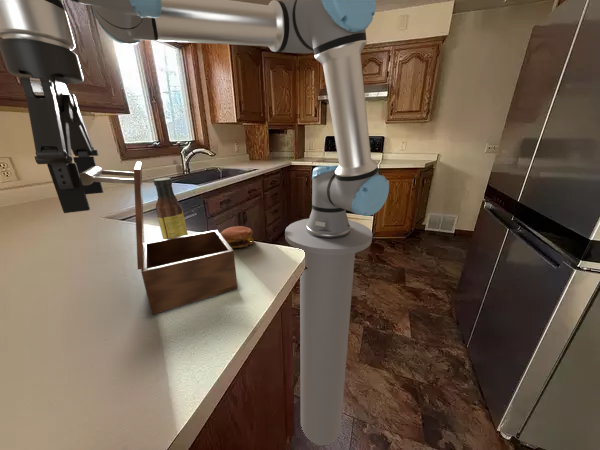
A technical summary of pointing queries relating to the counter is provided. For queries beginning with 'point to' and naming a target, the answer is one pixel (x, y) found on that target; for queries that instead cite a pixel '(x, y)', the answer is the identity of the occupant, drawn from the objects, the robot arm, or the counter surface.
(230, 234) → the burger
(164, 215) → the sauce bottle
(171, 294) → the brown wooden box
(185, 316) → the counter surface
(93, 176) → the lid
